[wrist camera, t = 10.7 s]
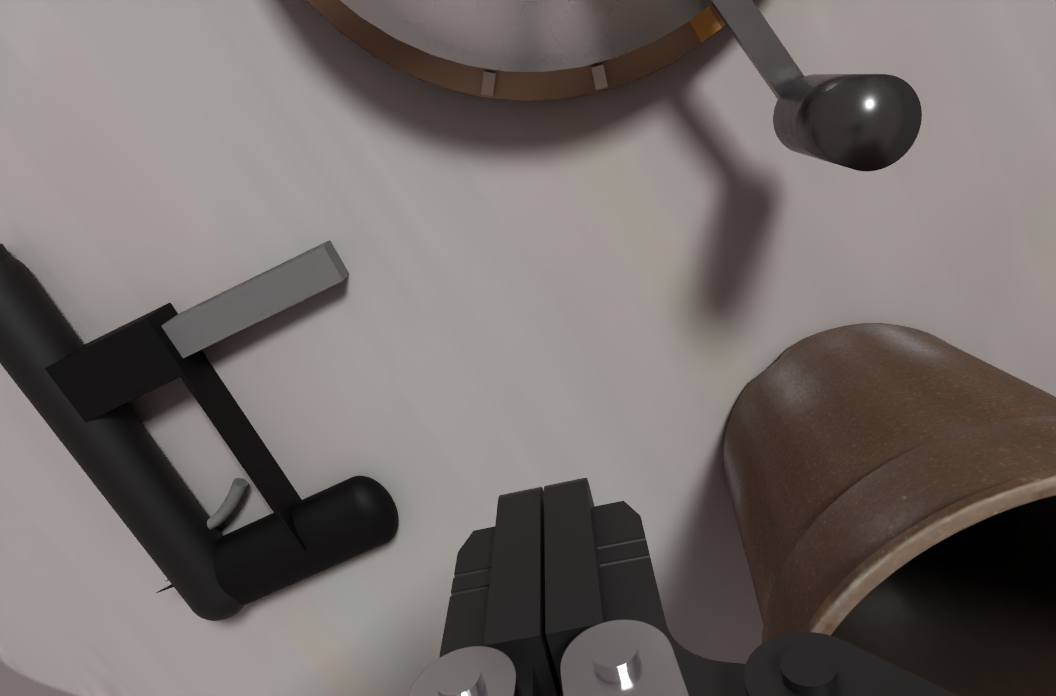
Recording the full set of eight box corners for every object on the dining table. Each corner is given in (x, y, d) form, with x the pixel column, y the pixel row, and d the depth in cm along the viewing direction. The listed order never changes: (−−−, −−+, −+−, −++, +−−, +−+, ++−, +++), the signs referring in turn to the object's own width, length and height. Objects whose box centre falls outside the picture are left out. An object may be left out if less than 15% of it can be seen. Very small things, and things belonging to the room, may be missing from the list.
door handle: (238, 110, 27) (-109, 291, 29) (476, 521, 34) (179, 651, 35) (264, 109, 30) (-50, 272, 32) (478, 485, 37) (205, 606, 38)
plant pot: (696, 607, 38) (802, 964, 23) (646, 318, 32) (743, 534, 17) (1021, 554, 36) (1366, 895, 21) (1027, 241, 31) (1499, 402, 16)
